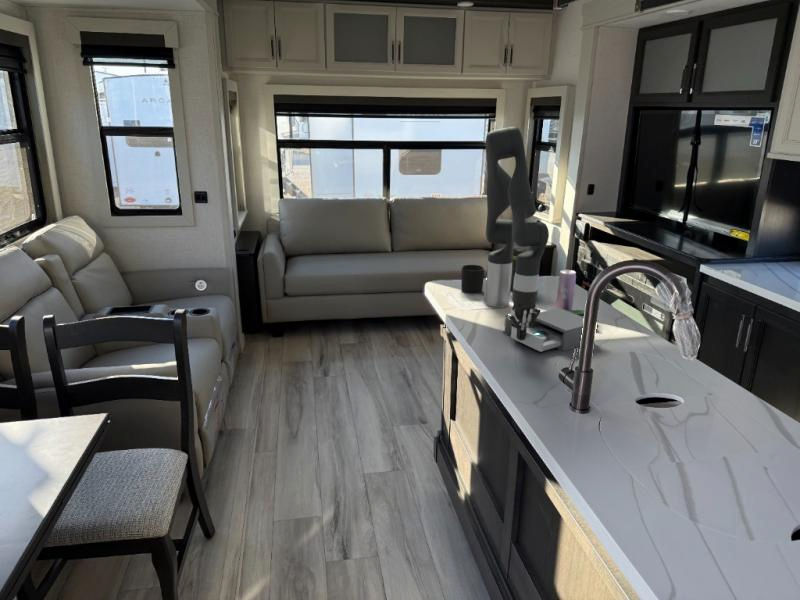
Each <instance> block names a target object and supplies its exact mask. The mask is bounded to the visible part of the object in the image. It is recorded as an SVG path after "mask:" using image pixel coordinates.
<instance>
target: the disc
mask: <svg viewBox="0 0 800 600" xmlns="http://www.w3.org/2000/svg"><path fill="white" fill-rule="evenodd" d="M530 333H533V334H535V335H537V336H539V337H541V338H544V342H546V341H548V340H549V333H547V332H545V331H540V330H535V331H531V332H530Z"/></svg>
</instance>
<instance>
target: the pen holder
mask: <svg viewBox="0 0 800 600" xmlns="http://www.w3.org/2000/svg"><path fill="white" fill-rule="evenodd" d="M484 278H485V268H484V267H483V266H481V265H478V264H465V265H463V266H462V267H461V283H460V284H461V291H462V292H463V293H465V294H470V295H471V294H472V295H473V294H480V293H482V292H483V290H484V289H483V287H484V281H485V279H484Z"/></svg>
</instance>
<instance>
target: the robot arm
mask: <svg viewBox="0 0 800 600" xmlns="http://www.w3.org/2000/svg"><path fill="white" fill-rule="evenodd" d="M485 151H486V152H485V153H486V163H487V164H486V165H487V181H486V202H487V203H486V206H487V208H486V209H487V213H486V224H485V238H486V241H487V242H488V243H490V244H497V245H504V246H503V247H502V248H500V249H497V250H493V251H490V252H489V253H488V255H487V269H486V270H487V271H486V277H485V279H484V289H483V290H484V292H483V302H484V303H485V304H486V305H487V306H489V307H493V308H506V307H508V306H509V305H510V297H511V295H512V297H511V299H512V303H513V305H512V308H511V311H510V312H509V313H506V314H505V318H507V319H508V321H509V322H510V324H511V325H512V327H514V328H516V329H517V335H516V337H517V339H518V340H520V341H522V340H525V338H526V332H527V329H528V327H529V326H532V325H533V323H534V321H535V320H536V318H537V317H538V315H539V313H540V312H541V309H539V308H537V307H536V304H537V302H538V295H539V287H540V275H539V274H540V265H541V260H542V258H543V255H544V252H545V249H546V246H547V244H548V243H549V242H548V241H549V237H550V236H549V235H550V234H549V233H550V232H549V228H548V226H547V224H546V223H544V222H542V221H536V222H534V221H532V222H526V219H528V218H531V217H533V216H534V215H536V212H537V208H536V203H535V200H534V196H533V193H532V190H531V186H530V179H529V173H528V172H529V171H528V170H529V169H528V162H527V157H526V156H527V155H526V149H525V143H524V137H523V134H522V132H521V130H520V128H519V127H517V126H508V127H503V128H499V129H498V128H497V129H493V130H491V131H489V132H487V134H486V137H485ZM510 158H514V159H515V160H514V161H515V166H514V171H513V173H512V177H511V175H510V174H508V172H507V171H505V169H504V168H503V167H502V166H501V165H500V162H499V161H502V160H506V159H510ZM508 208H510V210H511V213H512V215H511V217H512V219H506V218H505V219H504V218H499V217H500V216H501V215H502V214H503V213H504V212H506V210H507V209H508ZM514 246H520V247H527V246H530V248H529V249H528V251H526V252H523V253H521V254H519V255H518V256H517V259H516V270H515V276H514V283H513V290H512V294H511V289H510V287H511V274H512V261H513V247H514ZM531 318H532V319H531ZM530 320H531V321H530Z"/></svg>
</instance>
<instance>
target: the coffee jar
mask: <svg viewBox="0 0 800 600" xmlns="http://www.w3.org/2000/svg"><path fill="white" fill-rule="evenodd" d="M529 248H530V246H527V247H520V246H518V245H514V247H513V261H512V274H511V287H510V291H513V283H514V276H515V270H516V259H517V256H518V255H519V254H521V253H523V252H526V251H528V249H529Z"/></svg>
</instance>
